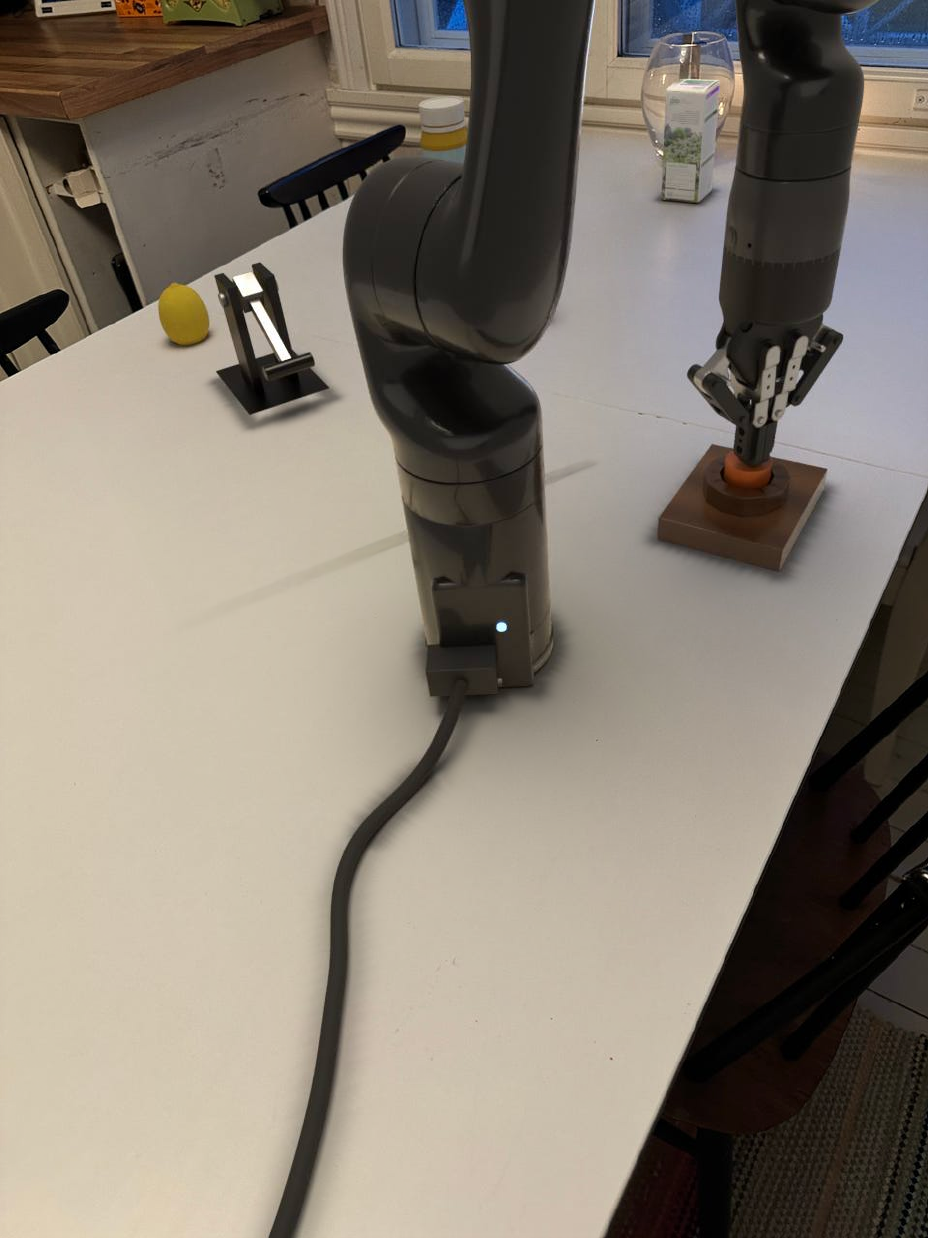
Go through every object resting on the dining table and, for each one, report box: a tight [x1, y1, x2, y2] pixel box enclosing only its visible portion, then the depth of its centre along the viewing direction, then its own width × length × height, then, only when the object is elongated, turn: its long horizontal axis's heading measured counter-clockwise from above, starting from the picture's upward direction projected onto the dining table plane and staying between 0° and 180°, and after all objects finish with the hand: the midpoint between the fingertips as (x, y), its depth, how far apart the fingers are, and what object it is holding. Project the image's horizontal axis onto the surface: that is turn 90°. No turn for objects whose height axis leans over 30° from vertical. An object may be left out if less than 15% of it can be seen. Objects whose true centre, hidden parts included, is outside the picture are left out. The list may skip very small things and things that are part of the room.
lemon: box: [157, 282, 210, 346], centre depth 109 cm, size 6×6×8 cm
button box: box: [656, 443, 828, 572], centre depth 76 cm, size 12×10×4 cm
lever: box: [231, 270, 316, 381], centre depth 93 cm, size 12×5×2 cm, turn 29°
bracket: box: [213, 261, 330, 416], centre depth 97 cm, size 12×9×13 cm
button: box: [724, 451, 772, 490], centre depth 74 cm, size 4×4×2 cm
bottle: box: [418, 95, 468, 164], centre depth 132 cm, size 7×7×15 cm
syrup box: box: [661, 78, 721, 204], centre depth 129 cm, size 6×6×14 cm
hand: (752, 459), depth 73 cm, fingers closed
